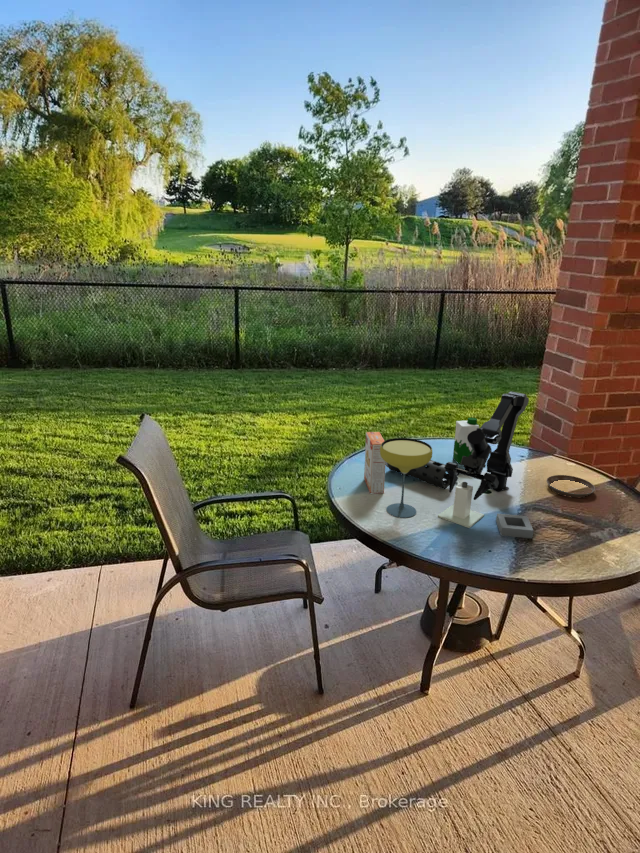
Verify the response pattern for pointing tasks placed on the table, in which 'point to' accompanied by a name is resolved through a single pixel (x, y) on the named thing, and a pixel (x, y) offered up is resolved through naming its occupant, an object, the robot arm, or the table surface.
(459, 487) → the plug
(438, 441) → the table surface
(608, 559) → the table surface
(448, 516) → the rubber mat
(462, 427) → the milk carton
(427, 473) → the muzzle brake
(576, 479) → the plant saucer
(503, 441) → the robot arm
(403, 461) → the cocktail glass
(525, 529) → the socket collar
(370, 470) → the cracker box
